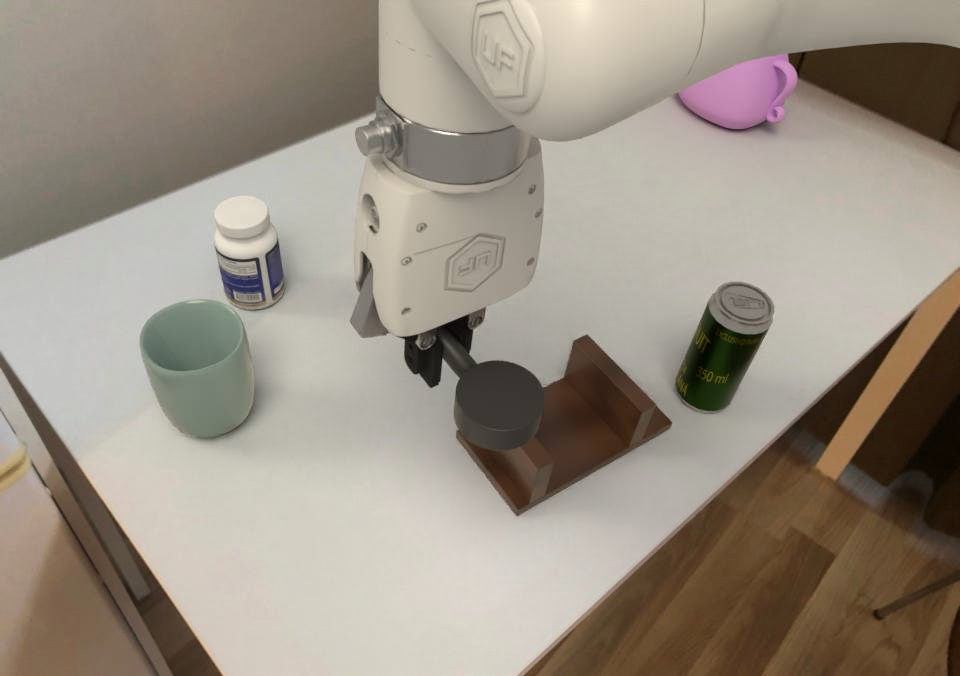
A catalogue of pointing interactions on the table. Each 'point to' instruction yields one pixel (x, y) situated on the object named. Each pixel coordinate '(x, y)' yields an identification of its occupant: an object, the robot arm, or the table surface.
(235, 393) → the cup
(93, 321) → the table surface
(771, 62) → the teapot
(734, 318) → the beer can
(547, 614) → the table surface
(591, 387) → the rack
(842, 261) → the table surface
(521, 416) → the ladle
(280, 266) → the pill bottle
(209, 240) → the table surface
